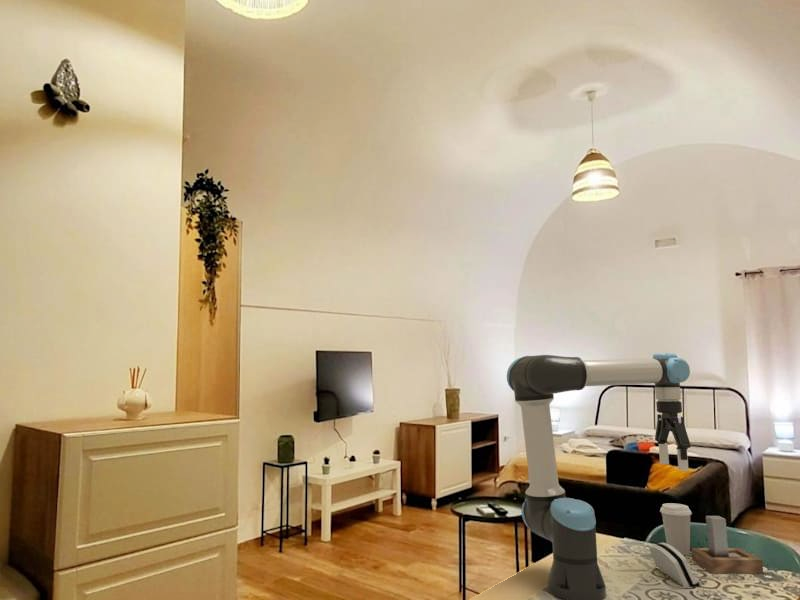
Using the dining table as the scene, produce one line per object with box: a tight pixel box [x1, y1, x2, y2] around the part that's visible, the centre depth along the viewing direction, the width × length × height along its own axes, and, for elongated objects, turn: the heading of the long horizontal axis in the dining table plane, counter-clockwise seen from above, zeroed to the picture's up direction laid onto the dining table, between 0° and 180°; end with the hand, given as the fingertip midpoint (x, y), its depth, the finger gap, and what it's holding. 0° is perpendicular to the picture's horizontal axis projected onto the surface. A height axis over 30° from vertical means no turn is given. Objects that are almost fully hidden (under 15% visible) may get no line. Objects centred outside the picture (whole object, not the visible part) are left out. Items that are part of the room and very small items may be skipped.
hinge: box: [649, 542, 703, 588], centre depth 165 cm, size 17×5×10 cm, turn 2°
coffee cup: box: [659, 502, 693, 556], centre depth 187 cm, size 10×10×15 cm
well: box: [690, 547, 764, 575], centre depth 173 cm, size 15×12×4 cm
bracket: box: [705, 515, 742, 557], centre depth 173 cm, size 8×4×14 cm, turn 88°
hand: (673, 467), depth 182 cm, fingers open, 13 cm apart
